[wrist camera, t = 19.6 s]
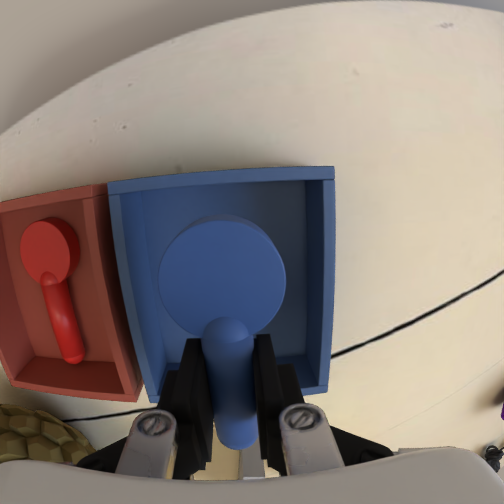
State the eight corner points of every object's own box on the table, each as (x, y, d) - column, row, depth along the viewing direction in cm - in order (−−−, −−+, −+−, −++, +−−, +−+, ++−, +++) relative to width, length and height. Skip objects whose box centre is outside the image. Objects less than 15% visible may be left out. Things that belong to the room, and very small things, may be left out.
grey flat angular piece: (258, 421, 22) (252, 487, 24) (240, 421, 22) (237, 487, 24) (265, 478, 16) (255, 534, 18) (243, 478, 16) (239, 534, 18)
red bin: (-2, 203, 16) (-39, 212, 12) (120, 181, 17) (91, 184, 13) (35, 358, 19) (11, 386, 15) (150, 365, 20) (136, 402, 16)
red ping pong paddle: (105, 356, 19) (96, 371, 17) (59, 354, 19) (48, 367, 17) (75, 213, 16) (60, 218, 15) (26, 220, 16) (11, 225, 15)
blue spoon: (282, 425, 13) (287, 453, 11) (195, 430, 13) (192, 458, 11) (278, 210, 11) (286, 217, 9) (159, 218, 10) (145, 227, 9)
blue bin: (133, 179, 17) (106, 182, 13) (313, 166, 17) (334, 166, 13) (161, 365, 20) (149, 403, 16) (312, 356, 20) (327, 392, 16)
